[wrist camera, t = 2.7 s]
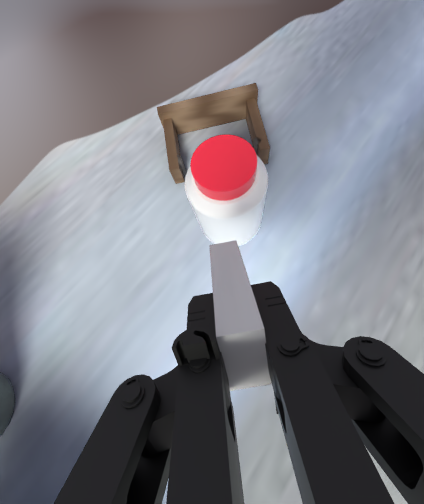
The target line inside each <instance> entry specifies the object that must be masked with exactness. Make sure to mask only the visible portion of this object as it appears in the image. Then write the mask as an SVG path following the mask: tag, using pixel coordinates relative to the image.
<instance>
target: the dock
mask: <svg viewBox="0 0 424 504" xmlns="http://www.w3.org/2000/svg"><path fill="white" fill-rule="evenodd" d="M257 98H258V88H257V85H256V83H254V84H250V85H246V86H242V87H237V88H233V89H229V90H225V91H221V92H217V93H213V94H209V95H205V96H201V97H197V98H192V99H188V100H184V101H180V102H176V103H172V104H168V105H164V106H160V107H157V110H158V115H159V118H160V120H161V123H162V125H163V128H164V133H165V141H166V148H167V156H168V163H169V170H170V172H171V174H172V177H173V179H174V181H175V183H176V184H177V183H182V182H185V181H184V176H185V175H186V174H187V171H186V169H185V166H184V163H183V160H182V158H181V155H180V149H179V142H178V136H177V135H178V134H183V133H187V132H191V131H195V130H200V129H204V128H208V127H212V126H217V125H221V124H225V123H229V122H234V121H238V120H242V119H246V121H247V125H248V128H249V132H250V136H251V140H252V143H253V148H254V150H255V152H256V155H257V156H258V157H259V158H260V159H261V160H262V162H263V163H264V164H268V158H269V151H270V146H269V142H268V139H267V136H266V132H265V129H264V126H263V122H262V119H261V115H260V112H259V109H258V105H257Z"/></svg>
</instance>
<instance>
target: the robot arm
mask: <svg viewBox="0 0 424 504" xmlns="http://www.w3.org/2000/svg"><path fill="white" fill-rule="evenodd" d="M209 246H210V260H211V273H212V287H213V293H210V294H204V295H199V296H193V298H192V300H191V301H190V303H189V305H188V317H187V330H186V331H184V332H183V333H181V334H180V335H179V336H178V337H177V338H176V339H175V341H174V343H173V346H172V350H173V353H174V355H175V358H176V360H177V363H178V366H176V367H175V368H174V369H173V370H172V371H170V372H168V373H167V374H165V375H162V376H160V377H158V378H156V379H154V380H152V379H151V378H150V376H146V375H135V376H133V377H131V378H129V379H127V380H126V381H124V382H123V383H122V384H121V385H120V386H119V387H118V388H117V390H116V391H115V393H114V394H113V396H112V398H111V399H110V401H109V403H108V405H107V407H106V409H105V411H104V412H103V414H102V416H101V418H100V420H99V422H98V423H97V425H96V427H95V429H94V431H93V433H92V434H91V436H90V438H89V440H88V442H87V444H86V445H85V447H84V449H83V451H82V453H81V455H80V456H79V458H78V460H77V462H76V464H75V466H74V467H73V469H72V471H71V473H70V475H69V477H68V478H67V480H66V482H65V484H64V486H63V488H62V490H61V491H60V493H59V495H58V497H57V499H56V501H55V502H54V504H162V500H163V497H164V493H165V489H166V485H167V482H168V491H167V502H166V504H244V497H243V489H242V480H241V472H240V463H239V455H238V446H237V438H236V429H235V421H234V412H233V406H232V402H231V398H230V391H233V390H239V389H245V388H251V387H257V386H264V385H270V384H271V382H272V386H273V389H274V395H275V403H276V411H277V414H279V417H280V420H281V424H282V428H283V431H284V435H285V439H286V443H287V446H288V450H289V454H290V457H291V461H292V465H293V469H294V472H295V476H296V480H297V483H298V487H299V491H300V494H301V498H302V502H303V504H394V502H393V500H392V498H391V496H390V494H389V492H388V490H387V489H386V487H385V485H384V483H383V481H382V479H381V477H380V475H379V473H378V471H377V469H376V467H375V465H374V463H373V461H372V459H371V457H370V455H369V453H368V451H369V452H370V453H371V455H372V456H373V457H374V459H375V460H376V461H377V463H378V464H379V465H380V467H381V468H382V469H383V471H384V472H385V473H386V475H387V476H388V477H389V479H390V480H391V481H392V483H393V484H394V485H395V487H396V488H397V489H398V491H399V492H400V493H401V495H402V496H403V497H404V499H405V500H406V501H407V503H408V504H424V374H423V373H422V372H421V371H419V370H418V369H417V368H416V367H414V366H413V365H412V364H411V363H409V362H408V361H407V360H406V359H404V358H403V357H402V356H401V355H400V354H398V353H397V352H396V351H395V350H393V349H392V348H391V347H390V346H388V345H386V344H385V343H383V342H382V341H379V340H376V339H374V338H371V337H361V336H360V337H355V338H351V339H350V340H348V341H347V342H346V343H345V345H344V347H337V346H327V345H322V344H318V343H315V342H313V341H311V340H309V339H308V338H307V337H306V336H305V335H303V334H302V332H301V331H300V329H299V327H298V325H297V323H296V321H295V319H294V317H293V315H292V313H291V311H290V309H289V307H288V305H287V304H286V301H285V299H284V297H283V295H282V293H281V291H280V289H279V287H278V286H276V285H275V284H274V283H272V282H271V281H270V282H265V283H260V284H254V285H250V282H249V279H248V275H247V272H246V269H245V266H244V263H243V260H242V256H241V253H240V250H239V247H238V244H237V241H236V240H234V241H229V242H224V243H219V244H213V245H209ZM364 445H365V446H364ZM365 447H366V448H367V449H368V451H367V450H366V448H365ZM168 478H169V480H168Z"/></svg>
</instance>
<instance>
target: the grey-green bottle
mask: <svg viewBox="0 0 424 504" xmlns="http://www.w3.org/2000/svg"><path fill="white" fill-rule="evenodd" d="M14 402H15V396H14V390H13V386H12V384H11V383H10V381H9V379H8V378H7V377H6V376H5V375H3V374H2V373H0V436H1V435H2V433H3V432H4V430H5V429H6V427H7V426H8V424H9V422H10V419H11V417H12V414H13V410H14Z"/></svg>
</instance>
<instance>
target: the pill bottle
mask: <svg viewBox="0 0 424 504" xmlns="http://www.w3.org/2000/svg"><path fill="white" fill-rule="evenodd" d="M267 189H268V174H267V170H266V167H265V165H264V163H263V162H262V160H261V159H260V158H259V157H258V156H257V155H256V152H255V150H254V148H253V147H252V145H251V144H250V143H249V142H247V141H246V140H245V139H243V138H241V137H238V136H235V135H218V136H215V137H211V138H209V139H207V140H206V141H204V142H203V143H202V144H200V145H199V146H198V148H197V149H196V150H195V152H194V153H193V156H192V158H191V165H190V167H189V168H188V171H187V174H186V177H185V192H186V195H187V198H188V200H189V203H190V205H191V207H192V210H193V212H194V214H195V216H196V219H197V221H198V223H199V225H200V228H201V230H202V232H203V234H204V235H205V236H206V238H207V239H208V240H210V241H211V242H212V243H214V244H219V243H224V242H229V241H234V240H236V241H237V244H238V246H241V245H244V244H246V243H247V242H249V241H250V240H251V239H253V238H254V236H255V235H256V234H257V233H258V231H259V229H260V226H261V222H262V217H263V211H264V206H265V200H266V194H267Z"/></svg>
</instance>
